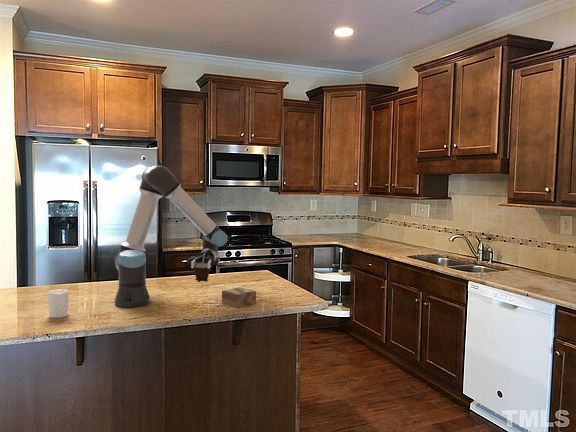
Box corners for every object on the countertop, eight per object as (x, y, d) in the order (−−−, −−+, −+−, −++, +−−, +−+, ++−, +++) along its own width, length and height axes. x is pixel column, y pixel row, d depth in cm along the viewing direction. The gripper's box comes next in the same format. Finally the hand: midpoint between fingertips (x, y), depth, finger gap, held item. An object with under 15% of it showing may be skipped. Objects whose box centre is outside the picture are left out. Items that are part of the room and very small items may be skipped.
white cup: (72, 313, 193) (72, 289, 192) (64, 318, 185) (63, 293, 185) (53, 312, 193) (52, 289, 192) (44, 318, 185) (43, 293, 184)
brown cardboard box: (237, 308, 204) (237, 294, 204) (221, 303, 211) (221, 290, 211) (256, 304, 212) (256, 290, 212) (240, 299, 220) (240, 286, 219)
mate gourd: (198, 278, 215) (199, 246, 214) (213, 280, 213) (215, 248, 211) (190, 281, 208) (191, 248, 207) (205, 283, 206) (206, 250, 204)
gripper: (227, 265, 228) (222, 274, 205) (187, 264, 228) (178, 273, 205) (227, 250, 228) (222, 257, 205) (187, 249, 227) (178, 256, 204)
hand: (200, 265), depth 205 cm, fingers closed on mate gourd, 6 cm apart
